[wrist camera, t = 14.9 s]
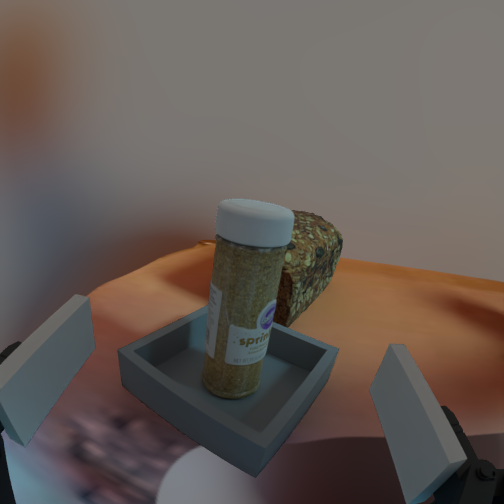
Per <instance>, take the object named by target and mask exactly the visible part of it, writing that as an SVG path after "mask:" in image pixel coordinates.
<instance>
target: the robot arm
mask: <svg viewBox="0 0 504 504" xmlns="http://www.w3.org/2000/svg"><path fill="white" fill-rule="evenodd" d="M95 348H96V346H95V339H94V332H93V324H92V316H91V307H90V298H89V297H85V296H81V295H77V294H75V295H74V296H73V297H72V298H71V299H69V300H68V301H67V302H66V303H65V304H64V305H63V306H61V308H59V309H58V310H57V311H56V312H55V313H54V314H53V315H51V316H50V317H49V318H48V319H47V320H46V321H45V322H44V323H43V324H42V325H41V326H40V327H39V328H37V329H36V330H35V331H34V332H33V333H32V334H31V335H30V336H29V337H28V338H27V339H26V340H25V341H24V342H23V343H21V342H19V341H18V342H16V343H14V344H12V345H10V346H8V347H7V348H6V349H5V350H4V351H3V352H2V353H1V354H0V504H16V502H15V498H14V494H13V490H12V486H11V481H10V476H9V472H8V466H7V461H6V455H5V448H4V441H3V438H2V435H1V433H2V431H3V430H4V429H5V431H6V432H7V434H8V436H9V437H10V439H12V440H14V441H15V442H17V443H19V444H20V445H22V446H24V447H26V446H27V444H28V443H29V441H30V440H31V438H32V437H33V435H34V434H35V432H36V431H37V429H38V428H39V426H40V425H41V423H42V422H43V420H44V419H45V417H46V416H47V414H48V413H49V411H50V410H51V409H52V407H53V406H54V404H55V403H56V401H57V400H58V399H59V397H60V396H61V394H62V393H63V392H64V390H65V389H66V387H67V386H68V385H69V383H70V382H71V380H72V379H73V378H74V376H75V375H76V374H77V372H78V371H79V370H80V368H81V367H82V365H83V364H84V363H85V361H86V360H87V359H88V357H89V356H90V355H91V353H92V352H93V351H94V350H95ZM369 391H370V394H371V397H372V399H373V402H374V405H375V408H376V411H377V414H378V416H379V419H380V422H381V425H382V428H383V431H384V434H385V437H386V440H387V443H388V445H389V449H390V452H391V455H392V458H393V461H394V465H395V468H396V471H397V474H398V478H399V480H400V484H401V488H402V491H403V494H404V498H405V501H406V504H416V503H421V502H424V501H425V500H426V499H427V498H429V497H430V496H431V495H432V494H434V497H435V500H434V501H433V502H432V503H431V504H504V469H496V468H495V467H494V466H493V465H492V463H490V462H489V461H487V460H479V459H478V458H477V456H476V454H475V452H474V450H473V448H472V446H471V445H470V442H469V440H468V439H467V437H466V435H465V433H463V429H462V427H461V426H460V425H459V422H458V420H457V418H456V417H455V415H454V413H453V412H451V411H450V410H449V409H448V408H447V407H446V406H440V405H439V403H438V401H437V399H436V398H435V396H434V394H433V392H432V390H431V389H430V387H429V385H428V383H427V382H426V380H425V378H424V376H423V375H422V373H421V371H420V370H419V368H418V366H417V365H416V363H415V361H414V360H413V358H412V356H411V355H410V353H409V351H408V350H407V348H406V346H405V345H404V344H389V347H388V349H387V351H386V354H385V356H384V358H383V361H382V363H381V365H380V367H379V370H378V372H377V374H376V376H375V378H374V380H373V382H372V384H371V387H370V389H369Z"/></svg>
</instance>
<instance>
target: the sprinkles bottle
mask: <svg viewBox="0 0 504 504" xmlns="http://www.w3.org/2000/svg"><path fill="white" fill-rule="evenodd" d="M294 217H295V216H294V213H293V212H292V211H291V210H289V209H287V208H285V207H282V206H279V205H276V204H272V203H268V202H262V201H256V200H248V199H226V200H223V201H221V202H220V203H219V205H218V210H217V216H216V223H215V232H216V233H217V235H216V236H215V238H216V241H217V242H216V248H215V257H214V265H213V273H212V278H211V283H210V293H209V303H208V313H207V324H206V335H205V362H204V369H203V371H202V381H203V384H204V385H205V387H206V388H207V389H208V390H209V391H210V392H212V393H213V394H214V395H216V396H220V397H222V398H228V399H242V398H246V397H247V396H250V395H251V394H253V393H255V391H257V390H258V388H259V385H260V374H261V369H262V365H263V360H264V356H265V354H266V351H267V346H268V342H269V337H270V332H271V327H272V322H273V317H274V313H275V308H276V298H277V292H278V287H279V283H280V277H281V271H282V267H283V260H284V255H285V251H286V249H287V244H288V243H289V242H290V240H291V236H292V230H293V225H294Z"/></svg>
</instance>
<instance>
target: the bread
mask: <svg viewBox="0 0 504 504" xmlns="http://www.w3.org/2000/svg"><path fill="white" fill-rule="evenodd" d="M292 212H293V213H294V216H295V217H294V225H293V230H292V236H291V240H290V242H289V243H288V244H287V249H286V251H285V255H284V260H283V267H282V271H281V277H280V283H279V287H278V292H277V298H276V308H275V313H274V317H273V322H275V323H277V324H280V325H282V326H284V327H287V328H288V327H289V326H290V325H291V323H292V322H293V321H294V320H295V319H296V318H298V317H299V316H300V314H301V313H302V312H304V311H305V310H306V309H307V307H309V305H310V304H311V303H312V302H313V301H314V300H315V299H316V298H317V297H318V296H319V294H321V292H322V291H323V290H324V289H325V288H326V286H327V285H328V283H329V282H330V281H331V278H332V276H333V274H334V271H335V269H336V265H337V263H338V261H339V259H340V254H341V250H342V242H343V240H342V237H341V234H340V233H339V231H338V230H337V229H336V228H335V227H334V226H333V225H332V224H331V223H330V222H327V221H325V220H324V219H323V218H322V217H321V216H317V215H315V214H314V213H308V212H303V211H295V210H292ZM214 256H215V255H214ZM213 265H214V264H213Z"/></svg>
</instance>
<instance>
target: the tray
mask: <svg viewBox="0 0 504 504" xmlns="http://www.w3.org/2000/svg"><path fill="white" fill-rule="evenodd" d="M207 313H208V305H207V306H205V307H203V308H201V309H199V310H197V311H195V312H193V313H191V314H189V315H187V316H185V317H183V318H181V319H179V320H177V321H175V322H173V323H171V324H169V325H167V326H165V327H163V328H161V329H159V330H157V331H155V332H153V333H151V334H149V335H147V336H145V337H143V338H141V339H139V340H137V341H135V342H133V343H130V344H128V345H126V346H124V347H122V348H120V349H118V359H119V366H120V374H121V381H122V385H123V386H124V387H125V388H126V389H127V390H129V391H130V392H131V393H132V394H133V395H135V396H136V397H137V398H138V399H139V400H141V401H142V402H143V403H144V404H145V405H147V406H148V407H149V408H150V409H152V410H153V411H154V412H156V413H157V414H158V415H159V416H161V417H162V418H163V419H165V420H166V421H167V422H169V423H170V424H171V425H173V426H174V427H176V428H177V429H178V430H180V431H181V432H183V433H184V434H185V435H187V436H188V437H190V438H191V439H193V440H194V441H196V442H197V443H199V444H200V445H202V446H203V447H205V448H206V449H208V450H209V451H211V452H213V453H214V454H216V455H217V456H219V457H220V458H222V459H224V460H225V461H227V462H229V463H230V464H232V465H234V466H235V467H237V468H239V469H240V470H242V471H244V472H246V473H248V474H250V475H251V476H253V477H255V478H256V477H257V475H258V474H259V473H260V472H261V471H262V470H263V468H264V467H265V466H266V465H267V463H268V462H269V461H270V460H271V458H272V457H273V456H274V455H275V453H276V452H277V451H278V450H279V448H280V447H281V446H282V444H283V443H284V442H285V441H286V439H287V438H288V437H289V435H290V434H291V433H292V431H293V430H294V429H295V427H296V426H297V424H298V423H299V422H300V420H301V419H302V417H303V416H304V415H305V413H306V412H307V410H308V409H309V408H310V406H311V405H312V403H313V402H314V400H315V399H316V397H317V396H318V394H319V393H320V391H321V390H322V388H323V387H324V385H325V384H326V382H327V381H328V378H329V376H330V373H331V370H332V368H333V365H334V362H335V360H336V357H337V354H338V351H339V349H338V348H336V347H333V346H331V345H328V344H326V343H323V342H321V341H318V340H316V339H313V338H311V337H308V336H306V335H303V334H301V333H299V332H296V331H294V330H291V329H289V328H287V327H284V326H282V325H280V324H277V323H275V322H272V327H271V332H270V337H269V342H268V346H267V351H266V354H265V356H264V360H263V365H262V369H261V374H260V385H259V388H258V390H257V391H255V393H253V394H251V395H250V396H247V397H246V398H242V399H228V398H222V397H220V396H216V395H214V394H213V393H212V392H210V391H209V390H208V389H207V388H206V387H205V385H204V384H203V381H202V371H203V369H204V362H205V335H206V324H207Z"/></svg>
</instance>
